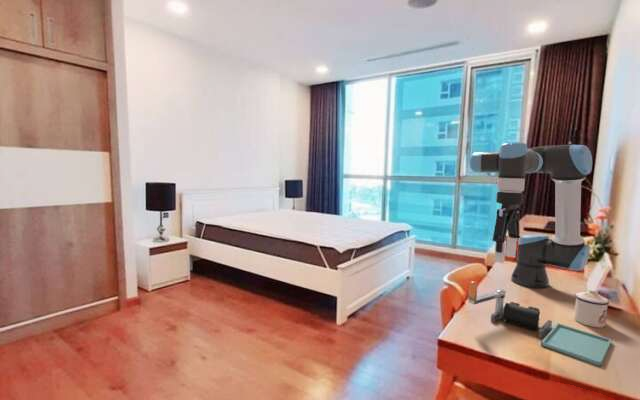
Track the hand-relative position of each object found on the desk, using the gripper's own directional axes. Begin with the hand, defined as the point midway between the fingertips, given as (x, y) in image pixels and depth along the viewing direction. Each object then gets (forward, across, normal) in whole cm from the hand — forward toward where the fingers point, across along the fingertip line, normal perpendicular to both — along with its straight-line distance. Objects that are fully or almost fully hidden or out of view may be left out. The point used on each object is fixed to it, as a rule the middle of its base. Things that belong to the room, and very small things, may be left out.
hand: (505, 259), depth 109 cm
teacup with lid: (+24, -31, +19) cm, 43 cm away
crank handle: (+16, -1, -5) cm, 16 cm away
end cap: (+24, -8, +4) cm, 26 cm away
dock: (+24, -8, +4) cm, 25 cm away
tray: (+24, -7, +20) cm, 31 cm away
